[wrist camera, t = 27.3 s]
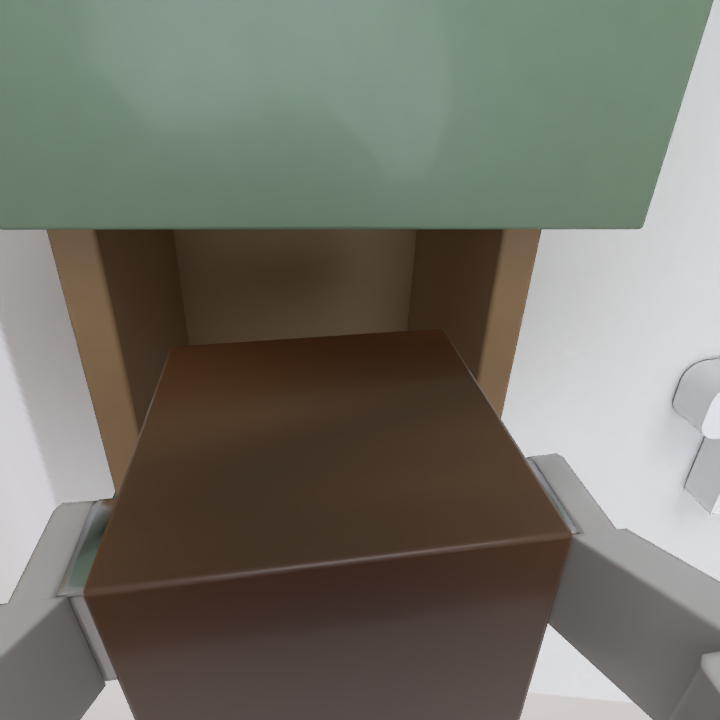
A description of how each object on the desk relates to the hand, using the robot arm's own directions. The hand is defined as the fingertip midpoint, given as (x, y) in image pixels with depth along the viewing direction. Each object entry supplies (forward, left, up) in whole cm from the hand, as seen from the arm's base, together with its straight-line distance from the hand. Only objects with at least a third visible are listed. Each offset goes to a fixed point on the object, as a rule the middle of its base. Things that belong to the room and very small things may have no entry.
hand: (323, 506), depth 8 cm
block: (0, 0, -2) cm, 2 cm away
